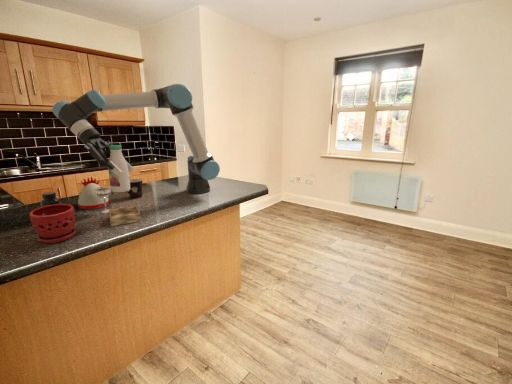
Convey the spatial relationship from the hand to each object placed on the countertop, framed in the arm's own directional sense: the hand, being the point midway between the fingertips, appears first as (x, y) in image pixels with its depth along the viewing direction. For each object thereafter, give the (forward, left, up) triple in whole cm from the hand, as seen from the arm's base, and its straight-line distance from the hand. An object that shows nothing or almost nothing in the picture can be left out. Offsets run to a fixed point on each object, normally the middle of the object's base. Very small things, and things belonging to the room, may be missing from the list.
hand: (126, 172), depth 111 cm
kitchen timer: (+15, -33, -22) cm, 43 cm away
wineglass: (+10, -18, -22) cm, 30 cm away
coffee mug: (-5, -38, -22) cm, 45 cm away
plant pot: (+27, +7, -22) cm, 35 cm away
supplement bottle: (+31, -19, -22) cm, 42 cm away
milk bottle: (+3, -2, -9) cm, 9 cm away
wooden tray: (+3, -2, -22) cm, 22 cm away
